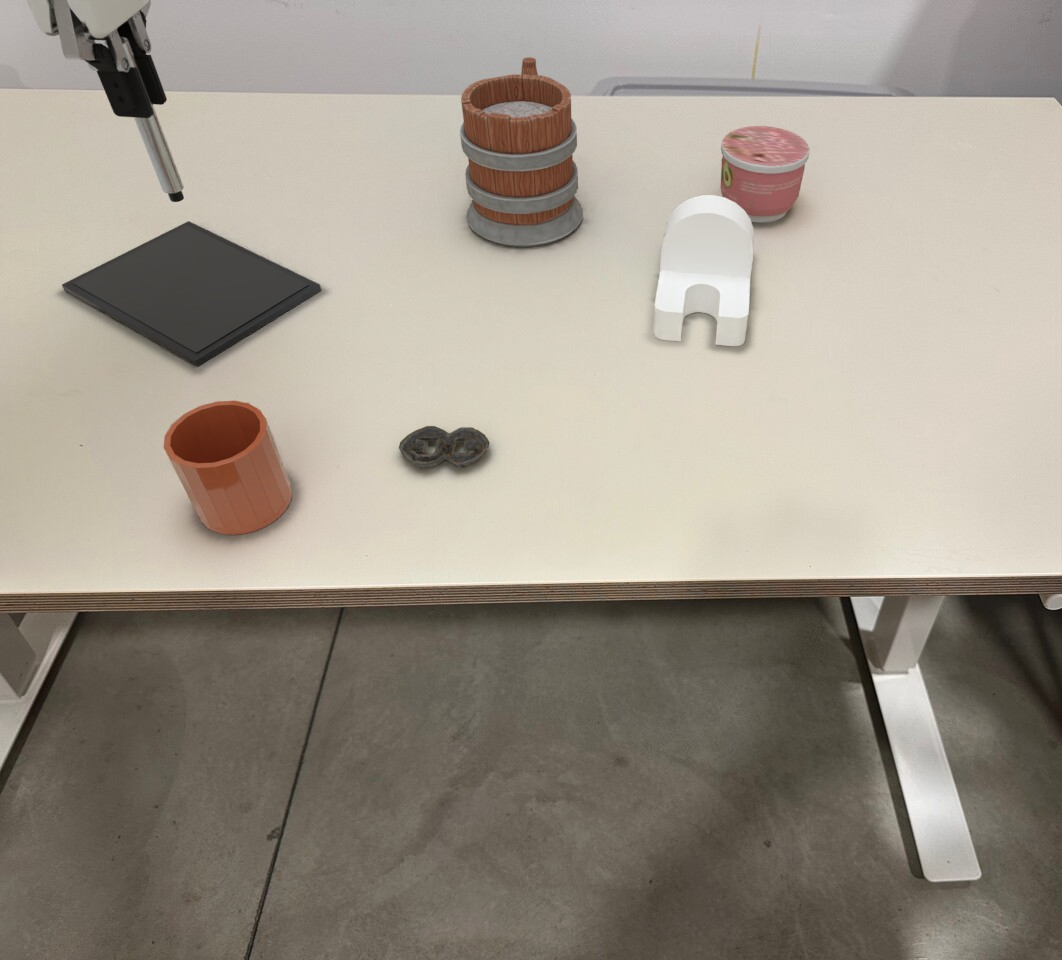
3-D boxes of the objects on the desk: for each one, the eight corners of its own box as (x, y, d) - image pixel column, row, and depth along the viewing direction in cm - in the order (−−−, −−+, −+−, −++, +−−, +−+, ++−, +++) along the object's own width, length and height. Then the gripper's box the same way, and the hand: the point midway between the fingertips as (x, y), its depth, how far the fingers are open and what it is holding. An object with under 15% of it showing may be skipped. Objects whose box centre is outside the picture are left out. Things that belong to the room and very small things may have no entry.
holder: (239, 549, 72) (207, 482, 66) (178, 508, 75) (142, 440, 69) (311, 493, 77) (287, 425, 71) (251, 456, 79) (223, 388, 74)
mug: (457, 246, 104) (440, 120, 93) (483, 166, 117) (470, 47, 106) (578, 251, 103) (574, 125, 93) (590, 171, 117) (588, 52, 106)
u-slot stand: (652, 338, 93) (656, 248, 85) (667, 245, 105) (672, 158, 97) (744, 347, 92) (757, 256, 84) (749, 252, 104) (760, 165, 97)
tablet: (197, 367, 88) (194, 359, 87) (64, 290, 96) (60, 283, 95) (321, 290, 97) (319, 283, 96) (190, 226, 105) (188, 220, 104)
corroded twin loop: (487, 472, 79) (486, 464, 78) (396, 472, 78) (394, 463, 78) (493, 433, 82) (492, 425, 81) (405, 432, 82) (403, 424, 81)
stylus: (175, 206, 81) (112, 47, 71) (162, 200, 82) (99, 41, 72) (191, 197, 82) (132, 40, 72) (179, 192, 83) (119, 34, 73)
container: (725, 180, 116) (731, 120, 110) (805, 193, 114) (815, 132, 108) (707, 220, 109) (712, 158, 103) (792, 234, 107) (802, 172, 101)
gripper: (48, -177, 68) (140, 69, 82) (-80, -122, 57) (51, 150, 71) (144, -172, 68) (221, 73, 82) (34, -117, 57) (143, 155, 71)
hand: (141, 107), depth 76 cm, fingers closed on stylus, 1 cm apart
